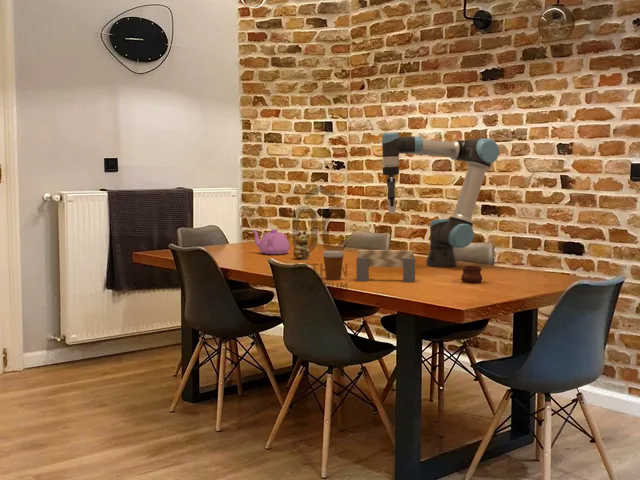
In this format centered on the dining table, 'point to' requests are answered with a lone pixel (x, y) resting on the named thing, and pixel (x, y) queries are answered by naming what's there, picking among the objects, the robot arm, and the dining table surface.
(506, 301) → the dining table surface
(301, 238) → the decorative figurine
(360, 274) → the set of support blocks
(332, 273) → the disposable coffee cup
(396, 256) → the ash rail plank
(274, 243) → the teapot
